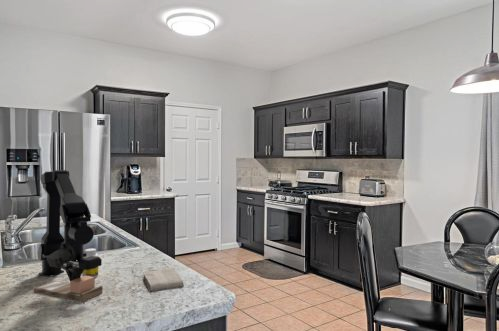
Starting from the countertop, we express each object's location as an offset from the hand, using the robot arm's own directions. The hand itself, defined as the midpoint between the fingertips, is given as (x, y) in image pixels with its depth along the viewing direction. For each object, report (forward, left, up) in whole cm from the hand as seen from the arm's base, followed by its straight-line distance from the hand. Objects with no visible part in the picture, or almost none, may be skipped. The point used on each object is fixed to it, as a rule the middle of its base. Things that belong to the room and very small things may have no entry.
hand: (74, 286), depth 119 cm
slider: (+4, 0, -1) cm, 4 cm away
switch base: (-3, 0, -2) cm, 4 cm away
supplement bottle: (-9, +15, -3) cm, 18 cm away
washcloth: (+19, +22, -3) cm, 29 cm away
